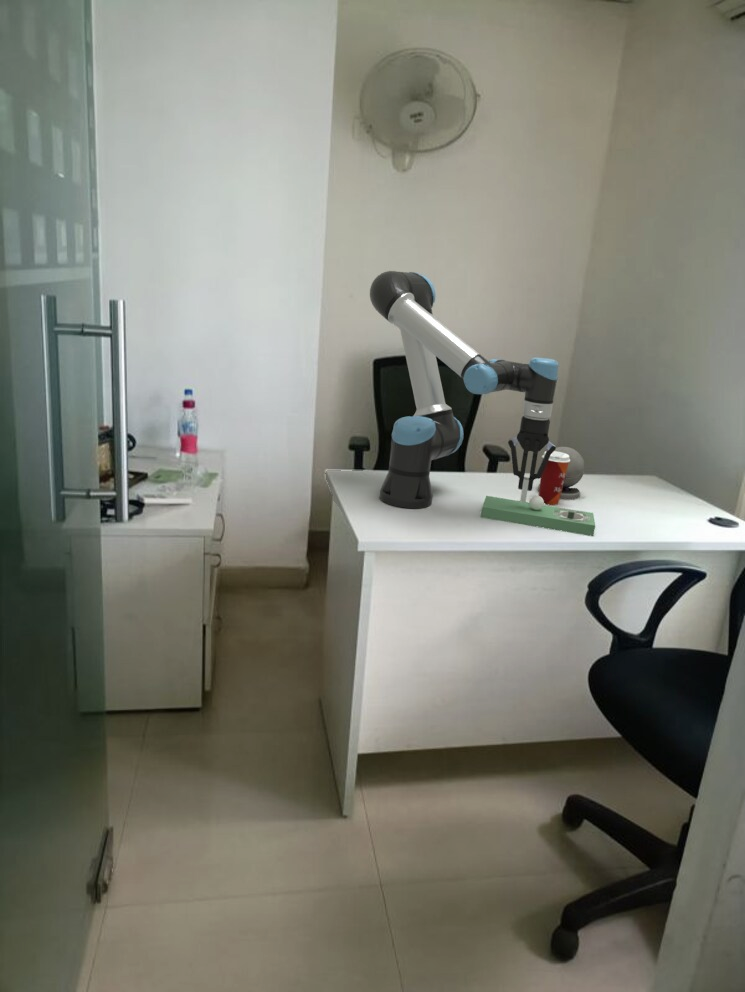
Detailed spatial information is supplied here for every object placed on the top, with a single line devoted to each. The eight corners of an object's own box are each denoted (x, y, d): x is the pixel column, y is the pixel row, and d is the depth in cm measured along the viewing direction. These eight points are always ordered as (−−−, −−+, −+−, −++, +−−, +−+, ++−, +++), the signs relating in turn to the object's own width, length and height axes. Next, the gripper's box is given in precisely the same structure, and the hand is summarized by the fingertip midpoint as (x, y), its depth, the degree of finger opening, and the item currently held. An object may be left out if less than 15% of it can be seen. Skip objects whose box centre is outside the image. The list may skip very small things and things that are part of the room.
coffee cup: (562, 507, 209) (571, 459, 205) (534, 503, 211) (543, 455, 206) (561, 499, 217) (570, 452, 213) (534, 495, 219) (542, 448, 214)
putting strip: (481, 517, 194) (482, 506, 193) (484, 505, 205) (486, 495, 204) (593, 536, 188) (595, 525, 187) (591, 522, 199) (593, 512, 198)
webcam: (584, 493, 226) (593, 448, 221) (571, 502, 215) (581, 455, 211) (545, 484, 232) (553, 440, 227) (531, 492, 222) (539, 446, 217)
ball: (543, 498, 192) (543, 512, 193) (544, 494, 196) (543, 507, 197) (528, 497, 193) (528, 511, 194) (529, 493, 197) (529, 507, 198)
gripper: (510, 416, 186) (498, 501, 194) (561, 422, 184) (546, 508, 191) (512, 411, 193) (500, 493, 201) (561, 417, 191) (547, 500, 198)
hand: (523, 500), depth 196 cm, fingers closed
